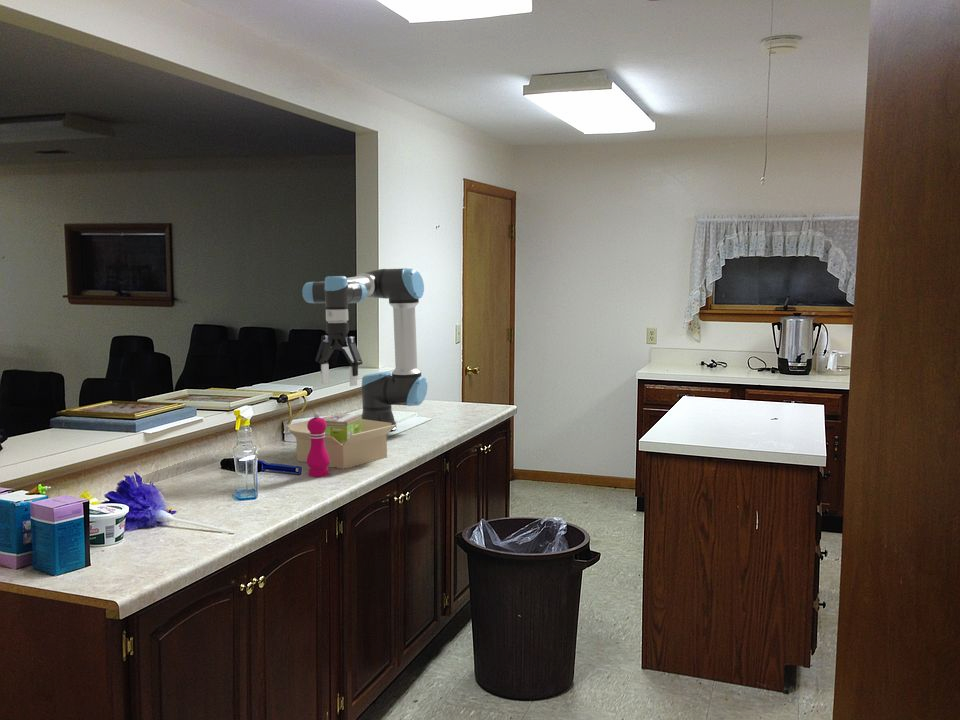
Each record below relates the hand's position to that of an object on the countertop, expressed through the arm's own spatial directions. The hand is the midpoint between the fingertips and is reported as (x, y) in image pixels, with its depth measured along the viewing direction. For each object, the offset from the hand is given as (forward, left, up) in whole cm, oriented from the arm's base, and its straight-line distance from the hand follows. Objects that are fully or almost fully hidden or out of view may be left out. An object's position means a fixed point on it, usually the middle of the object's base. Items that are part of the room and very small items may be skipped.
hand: (339, 384), depth 286 cm
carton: (0, 0, -26) cm, 26 cm away
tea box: (0, 0, -26) cm, 26 cm away
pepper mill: (+20, +10, -26) cm, 34 cm away
